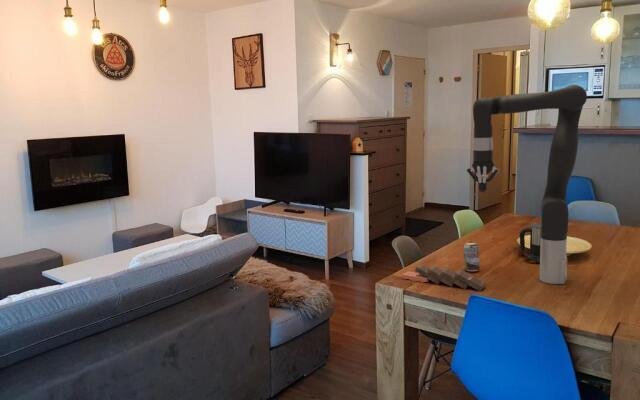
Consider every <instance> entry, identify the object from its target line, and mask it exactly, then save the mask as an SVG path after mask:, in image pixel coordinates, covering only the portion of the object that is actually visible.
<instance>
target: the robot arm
mask: <svg viewBox="0 0 640 400" xmlns="http://www.w3.org/2000/svg"><path fill="white" fill-rule="evenodd" d="M586 91H587V90H585V89H584V87H582V86H581V85H579V84H578V85H577V84H570V85H568V86H565V87H562V88H561V87H560V88H559V89H555V90H550V91H543V92H533V93H532V92H531V93H530V92H529V93H515V94H509V95H502V96H496V97H495V96H493V97H480V98H478V99H476V100H475V101H474V103H473V105H472V115H473V116H472V117H473V124H474V125H473V142H472V144H473V145H472V148H473V149H472V150H473V152H472V153H473V156H472V158H473V159H472V160H473V161H472V164H471V167H469V168H467V170H466V172H467V173H468V174H469V176H470V177H471V178H472V180H473V181H475V182H477V183H478V191H480V193H485V192H486V191H487V190H488V183H489V182H491V181H492V180H494V178H495V177H496V176H497V174H498V173H499V172H500V168H497V167H496V166H495V163H494V140H493V124H492V116H493V115H501V114H502V115H506V114H507V115H509V114H518V113H526V112H534V111H541V110H549V109H551V110H552V109H553V110H555V109H557V110H558V114H557V123H556V126H555V130H554V133H553V136H552V139H551V140H552V141H551V144H550V150H549V155H548V163H547V164H548V165H547V176H546V177H547V179H546V180H547V181H546V186H545V190H544V194H543V198H542V201H541V203H540V212H541V223H542V225H541V246H540V262H539V281H541V282H542V283H546V284H550V285H565V283H566V281H567V277H568V276H567V273H568V256H567V241H568V240H567V238H568V231H569V230H568V229H569V207H568V204H567V191H568V190H567V189H568V184H569V181H570V179H571V176H572V175H573V174H572V173H573V170H574V167H575V164H576V159H577V154H578V148H579V147H578V146H579V123H580V118H581V116H582V115H581V114H582V110H583V107H584V105H585V104H586V102H587V99H588V95H587V94H588V93H587V92H586ZM490 172H492V173H491V175H490V176H489V174H490Z"/></svg>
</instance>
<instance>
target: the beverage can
mask: <svg viewBox="0 0 640 400" xmlns="http://www.w3.org/2000/svg"><path fill="white" fill-rule="evenodd" d="M479 251H480V250H479V245H478V244H477V242H469V243H468V242H466V243H464V246H463V259H464V260H463V261H464V262H463V263H464V270H466V272H467V271H468V272H477V271H479V270H480V254H479V253H480V252H479Z"/></svg>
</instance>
